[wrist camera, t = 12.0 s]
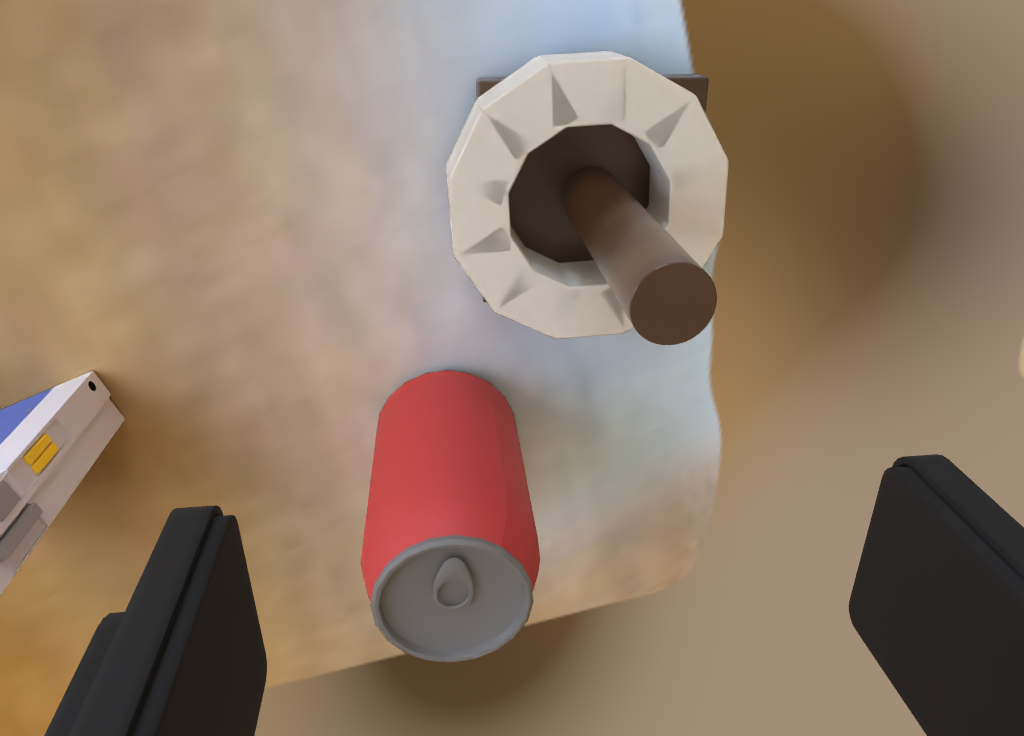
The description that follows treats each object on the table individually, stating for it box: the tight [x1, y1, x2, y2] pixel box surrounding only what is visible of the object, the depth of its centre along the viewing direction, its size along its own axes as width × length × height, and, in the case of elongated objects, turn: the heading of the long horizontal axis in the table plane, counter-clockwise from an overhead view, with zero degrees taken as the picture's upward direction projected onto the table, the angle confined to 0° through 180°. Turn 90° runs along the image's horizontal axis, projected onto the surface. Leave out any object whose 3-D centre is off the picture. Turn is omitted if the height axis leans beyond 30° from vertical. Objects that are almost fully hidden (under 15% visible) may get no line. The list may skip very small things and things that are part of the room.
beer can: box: [361, 370, 540, 662], centre depth 31 cm, size 7×7×12 cm
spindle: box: [476, 74, 717, 345], centre depth 26 cm, size 9×9×13 cm
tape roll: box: [446, 51, 729, 339], centre depth 30 cm, size 10×10×3 cm
